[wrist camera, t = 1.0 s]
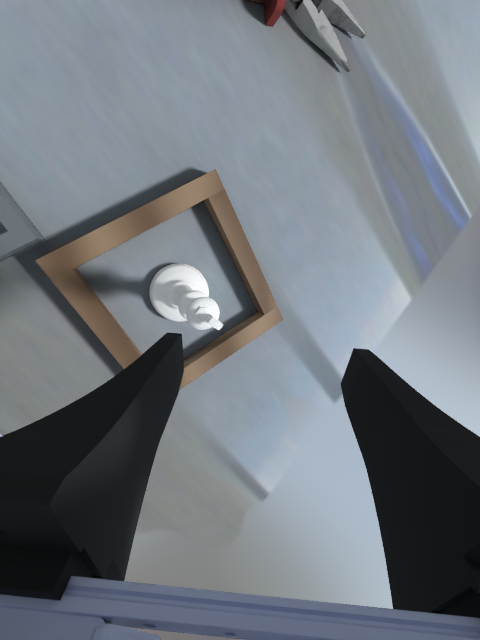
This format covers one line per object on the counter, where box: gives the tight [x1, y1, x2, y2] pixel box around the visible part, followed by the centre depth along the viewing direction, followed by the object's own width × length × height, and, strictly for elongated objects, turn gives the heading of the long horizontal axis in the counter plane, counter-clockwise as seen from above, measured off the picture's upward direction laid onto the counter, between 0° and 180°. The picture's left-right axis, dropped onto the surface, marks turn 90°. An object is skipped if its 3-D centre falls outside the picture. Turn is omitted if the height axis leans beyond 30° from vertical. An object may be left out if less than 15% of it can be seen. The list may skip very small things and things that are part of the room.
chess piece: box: [150, 263, 223, 331], centre depth 19 cm, size 5×5×10 cm
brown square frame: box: [35, 169, 283, 390], centre depth 23 cm, size 14×14×2 cm
